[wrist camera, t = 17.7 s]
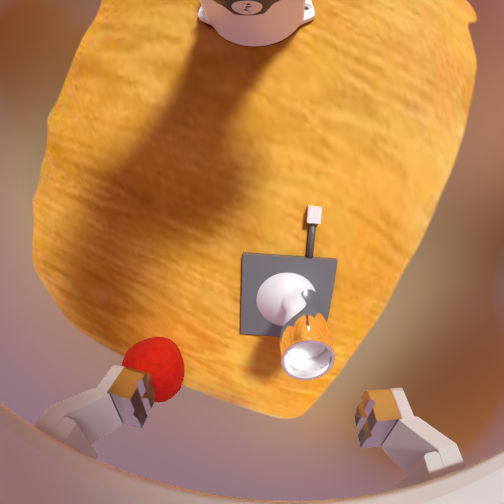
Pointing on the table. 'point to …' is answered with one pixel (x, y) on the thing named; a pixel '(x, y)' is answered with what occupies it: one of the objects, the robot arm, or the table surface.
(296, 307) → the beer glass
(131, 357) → the apple
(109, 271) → the table surface
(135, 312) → the table surface
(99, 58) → the table surface
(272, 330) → the charging dock
